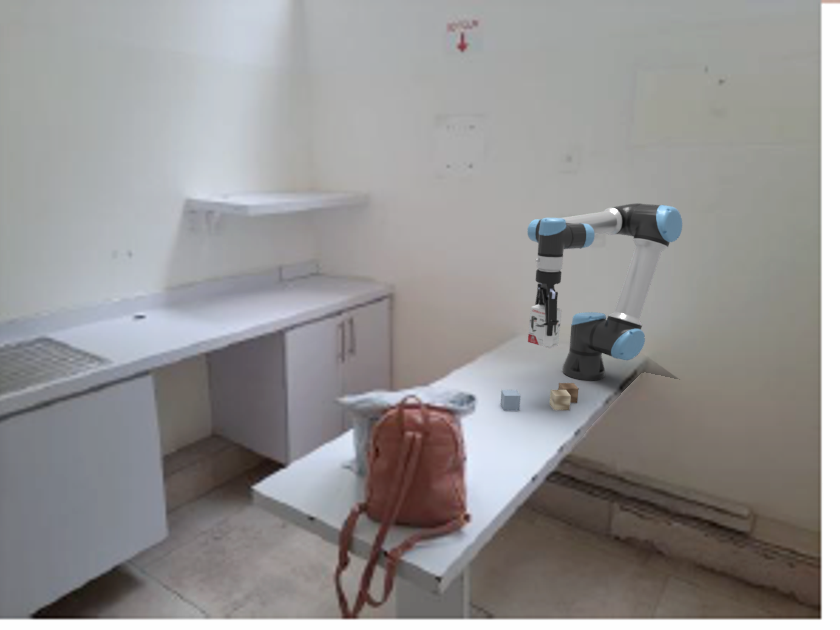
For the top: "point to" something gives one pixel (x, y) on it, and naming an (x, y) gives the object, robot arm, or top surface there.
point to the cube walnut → (570, 390)
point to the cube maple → (560, 400)
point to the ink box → (542, 326)
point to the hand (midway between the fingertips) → (543, 340)
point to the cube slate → (510, 400)
